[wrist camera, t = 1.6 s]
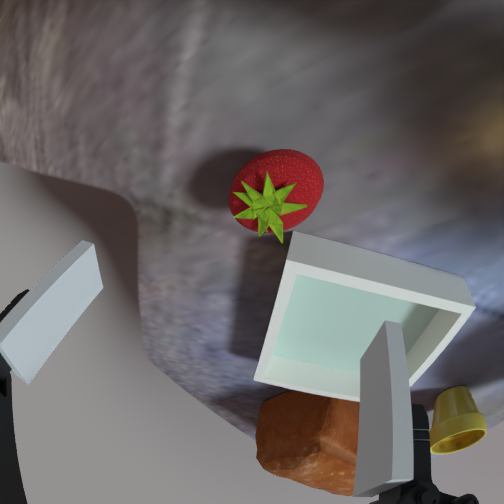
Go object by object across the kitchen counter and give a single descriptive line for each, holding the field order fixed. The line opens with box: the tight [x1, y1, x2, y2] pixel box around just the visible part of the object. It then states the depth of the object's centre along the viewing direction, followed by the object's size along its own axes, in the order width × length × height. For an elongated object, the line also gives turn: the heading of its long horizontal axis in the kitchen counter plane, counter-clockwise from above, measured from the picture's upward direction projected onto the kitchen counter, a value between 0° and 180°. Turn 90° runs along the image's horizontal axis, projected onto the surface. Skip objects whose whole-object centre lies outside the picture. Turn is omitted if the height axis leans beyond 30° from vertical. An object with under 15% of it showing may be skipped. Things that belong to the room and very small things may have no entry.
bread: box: [255, 390, 360, 496], centre depth 43 cm, size 17×24×15 cm
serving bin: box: [254, 231, 476, 402], centre depth 33 cm, size 20×20×5 cm
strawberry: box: [229, 149, 324, 243], centre depth 22 cm, size 6×8×10 cm
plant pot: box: [429, 386, 487, 455], centre depth 35 cm, size 10×10×10 cm
